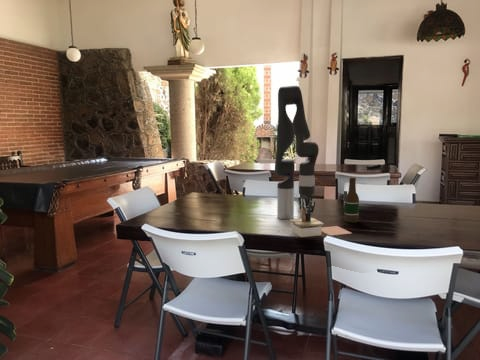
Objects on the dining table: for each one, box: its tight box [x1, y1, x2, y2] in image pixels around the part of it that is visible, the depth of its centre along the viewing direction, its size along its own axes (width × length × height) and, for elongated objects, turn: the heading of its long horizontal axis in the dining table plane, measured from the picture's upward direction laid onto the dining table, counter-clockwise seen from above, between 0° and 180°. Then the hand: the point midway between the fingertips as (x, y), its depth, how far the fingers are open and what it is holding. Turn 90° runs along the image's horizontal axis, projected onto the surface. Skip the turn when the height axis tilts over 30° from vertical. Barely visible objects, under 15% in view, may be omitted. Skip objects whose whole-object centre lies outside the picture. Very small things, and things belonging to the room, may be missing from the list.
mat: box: [321, 225, 352, 236], centre depth 189 cm, size 14×12×1 cm
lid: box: [289, 208, 324, 227], centre depth 184 cm, size 12×12×7 cm
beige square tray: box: [291, 222, 323, 238], centre depth 185 cm, size 11×11×4 cm
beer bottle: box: [343, 176, 360, 224], centre depth 206 cm, size 8×8×24 cm
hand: (306, 219), depth 184 cm, fingers closed on lid, 3 cm apart
